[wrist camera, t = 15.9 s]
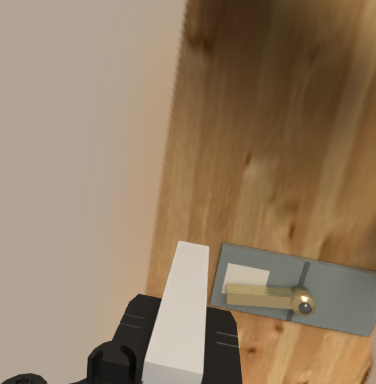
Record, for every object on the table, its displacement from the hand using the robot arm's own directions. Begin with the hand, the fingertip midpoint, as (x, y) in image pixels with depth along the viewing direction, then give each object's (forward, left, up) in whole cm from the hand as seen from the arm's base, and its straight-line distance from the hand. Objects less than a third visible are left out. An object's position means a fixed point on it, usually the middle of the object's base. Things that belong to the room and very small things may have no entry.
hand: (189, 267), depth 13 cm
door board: (+19, +19, -29) cm, 40 cm away
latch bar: (+20, +14, -28) cm, 37 cm away
